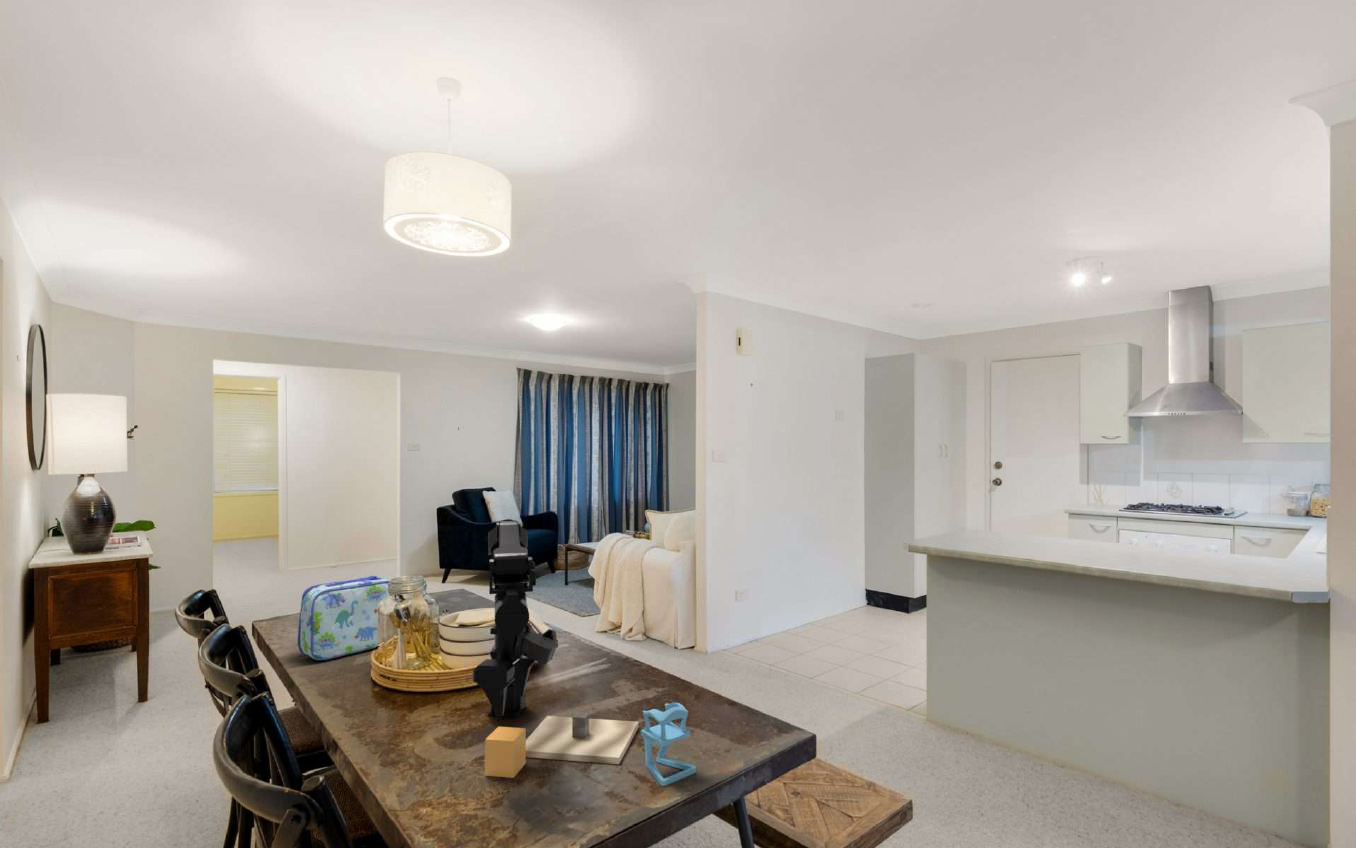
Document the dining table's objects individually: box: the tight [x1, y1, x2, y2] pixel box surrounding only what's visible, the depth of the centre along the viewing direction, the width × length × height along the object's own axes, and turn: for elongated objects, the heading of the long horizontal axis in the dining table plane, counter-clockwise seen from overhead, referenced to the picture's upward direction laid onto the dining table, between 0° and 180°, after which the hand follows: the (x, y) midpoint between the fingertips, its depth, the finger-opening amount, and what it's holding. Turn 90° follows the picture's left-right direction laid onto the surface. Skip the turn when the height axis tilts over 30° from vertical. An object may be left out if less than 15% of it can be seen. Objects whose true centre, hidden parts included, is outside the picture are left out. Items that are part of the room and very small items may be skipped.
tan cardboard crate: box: [484, 726, 527, 779], centre depth 119 cm, size 5×5×6 cm
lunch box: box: [297, 575, 392, 661], centre depth 190 cm, size 26×11×21 cm, turn 141°
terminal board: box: [526, 711, 639, 765], centre depth 130 cm, size 20×16×5 cm
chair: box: [640, 702, 697, 787], centre depth 118 cm, size 8×8×12 cm
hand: (510, 706), depth 120 cm, fingers open, 9 cm apart
